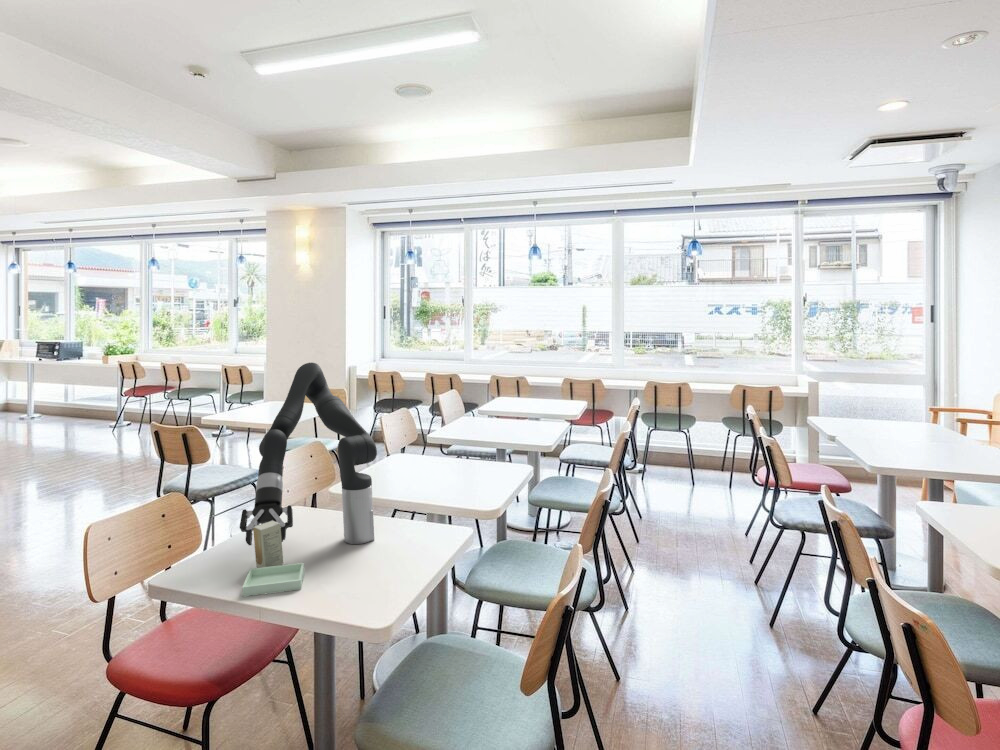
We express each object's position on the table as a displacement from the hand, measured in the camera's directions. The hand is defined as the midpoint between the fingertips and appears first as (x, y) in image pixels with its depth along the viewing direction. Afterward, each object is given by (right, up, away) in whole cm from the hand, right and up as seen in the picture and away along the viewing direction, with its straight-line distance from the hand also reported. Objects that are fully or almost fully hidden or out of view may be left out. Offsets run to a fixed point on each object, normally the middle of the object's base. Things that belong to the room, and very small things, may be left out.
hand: (265, 542), depth 163 cm
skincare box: (+2, -7, -1) cm, 7 cm away
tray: (+7, -7, -12) cm, 16 cm away
